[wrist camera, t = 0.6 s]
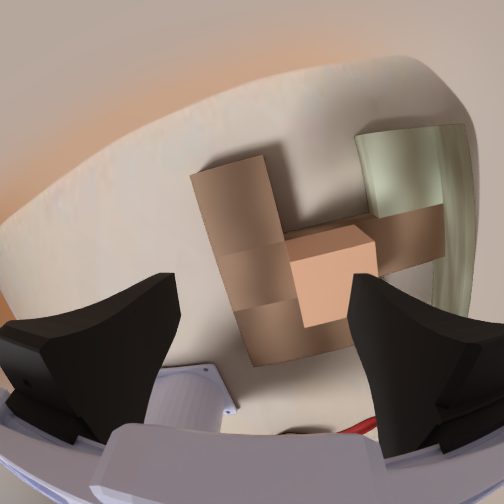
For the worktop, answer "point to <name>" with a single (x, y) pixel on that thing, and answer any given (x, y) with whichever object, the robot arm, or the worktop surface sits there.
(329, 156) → the worktop surface
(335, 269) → the block
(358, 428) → the cayenne pepper
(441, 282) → the blocky structure
